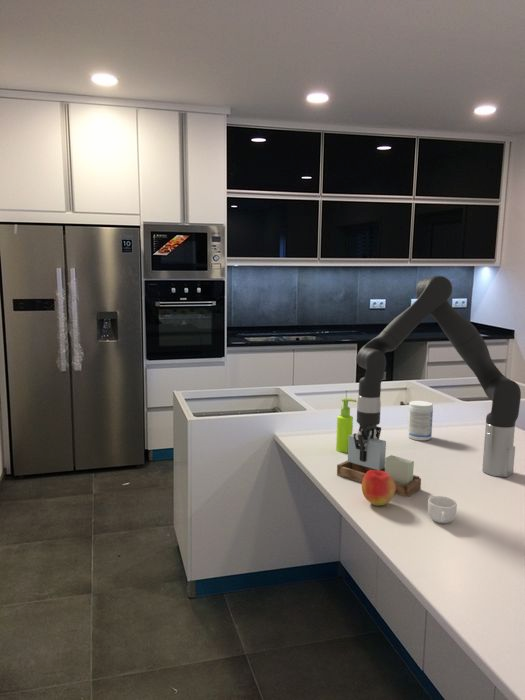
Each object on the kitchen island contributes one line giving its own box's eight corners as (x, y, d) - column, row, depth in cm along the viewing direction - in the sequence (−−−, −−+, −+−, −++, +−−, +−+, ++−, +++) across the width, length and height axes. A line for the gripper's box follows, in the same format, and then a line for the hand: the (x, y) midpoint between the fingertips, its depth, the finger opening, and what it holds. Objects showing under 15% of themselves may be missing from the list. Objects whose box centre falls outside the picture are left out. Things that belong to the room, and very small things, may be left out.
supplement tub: (435, 441, 231) (437, 405, 228) (412, 441, 229) (414, 406, 227) (425, 434, 240) (427, 400, 238) (403, 434, 239) (405, 400, 237)
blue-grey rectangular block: (384, 467, 185) (386, 441, 184) (379, 470, 183) (380, 443, 181) (353, 458, 193) (354, 433, 192) (347, 461, 191) (348, 435, 189)
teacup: (426, 512, 163) (427, 494, 163) (454, 515, 162) (455, 497, 161) (427, 527, 154) (428, 509, 153) (457, 531, 152) (458, 512, 151)
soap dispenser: (355, 452, 215) (357, 401, 212) (337, 452, 215) (338, 400, 212) (353, 447, 220) (355, 397, 217) (335, 447, 221) (337, 397, 218)
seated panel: (412, 488, 179) (413, 461, 178) (406, 491, 177) (408, 463, 175) (389, 481, 185) (391, 455, 183) (384, 484, 182) (385, 457, 181)
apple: (370, 512, 163) (371, 478, 161) (356, 499, 172) (357, 467, 170) (400, 508, 165) (401, 476, 164) (384, 496, 175) (386, 464, 173)
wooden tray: (420, 489, 180) (421, 477, 180) (407, 497, 174) (408, 484, 173) (350, 468, 197) (351, 457, 197) (336, 475, 191) (337, 463, 191)
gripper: (367, 415, 178) (364, 467, 180) (389, 407, 188) (387, 457, 190) (346, 410, 182) (344, 462, 185) (370, 403, 193) (368, 452, 195)
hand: (366, 459), depth 188 cm, fingers closed on blue-grey rectangular block, 3 cm apart
